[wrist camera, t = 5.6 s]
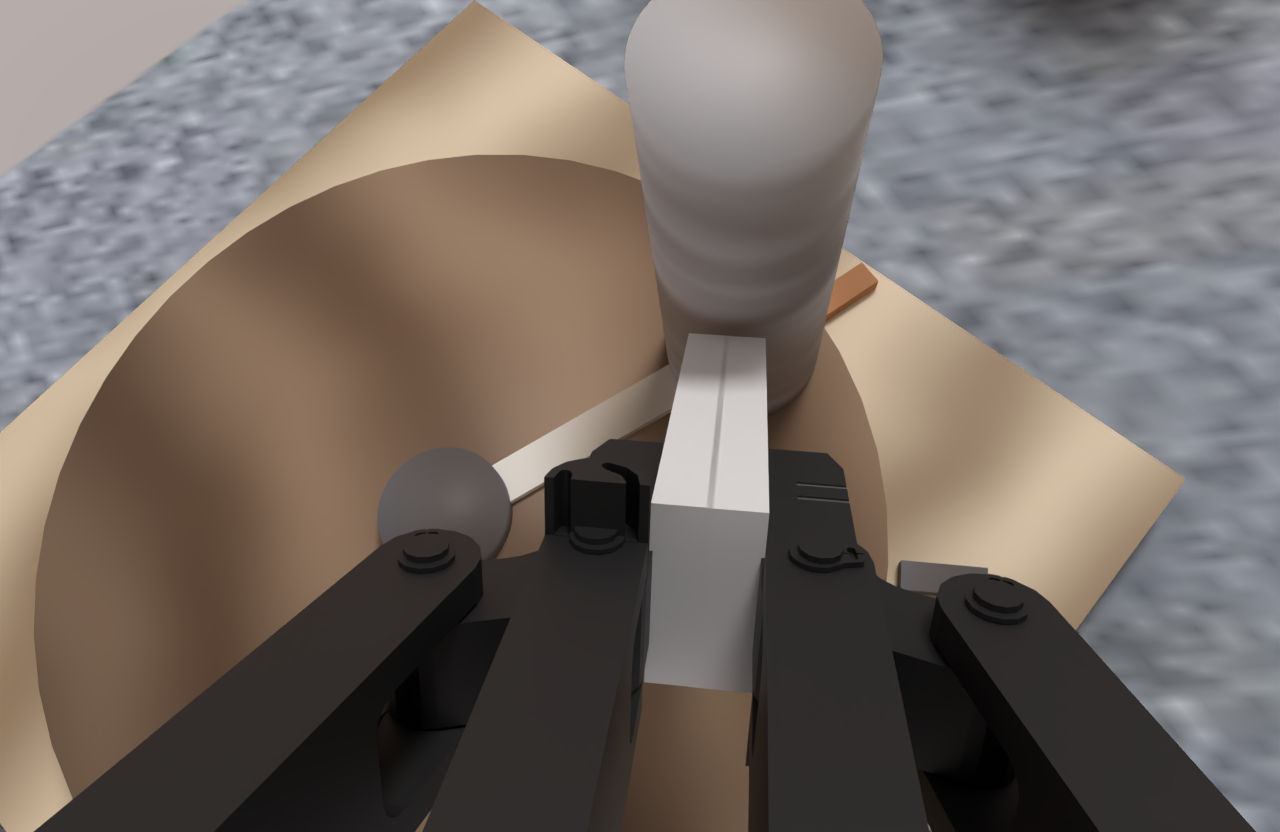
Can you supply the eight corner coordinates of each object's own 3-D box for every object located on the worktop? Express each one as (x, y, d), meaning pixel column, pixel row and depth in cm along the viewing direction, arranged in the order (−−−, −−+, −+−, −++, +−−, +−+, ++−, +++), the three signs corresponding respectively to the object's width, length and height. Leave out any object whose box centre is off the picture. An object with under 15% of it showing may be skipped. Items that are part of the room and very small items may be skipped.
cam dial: (256, 1193, 19) (-424, 1823, 8) (-1, 416, 26) (-562, 156, 15) (1051, 681, 21) (1423, 598, 10) (619, 85, 28) (545, -367, 17)
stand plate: (1159, 495, 24) (1193, 474, 22) (493, 1401, 19) (469, 1468, 17) (485, 34, 31) (471, -10, 29) (-127, 600, 26) (-188, 589, 24)
